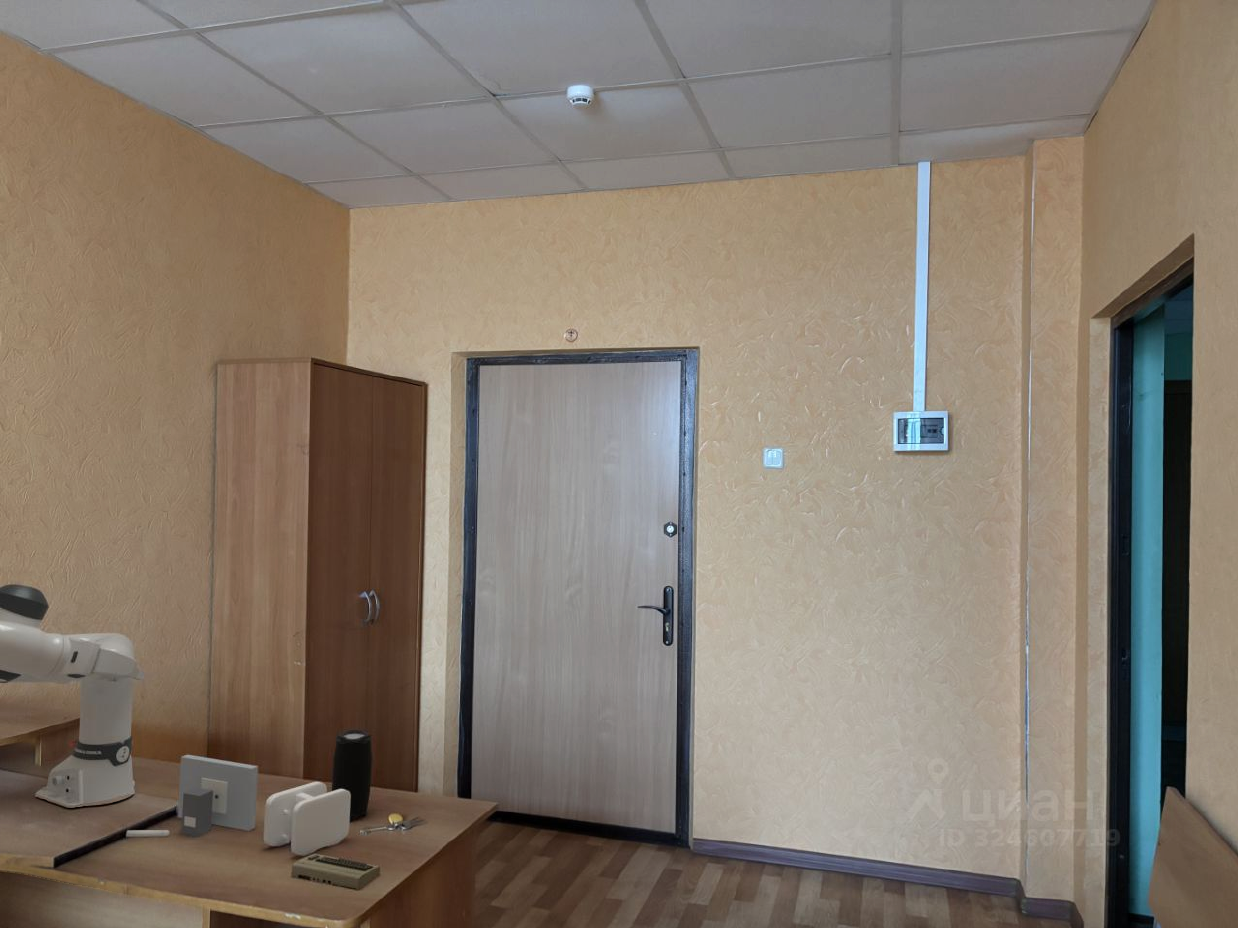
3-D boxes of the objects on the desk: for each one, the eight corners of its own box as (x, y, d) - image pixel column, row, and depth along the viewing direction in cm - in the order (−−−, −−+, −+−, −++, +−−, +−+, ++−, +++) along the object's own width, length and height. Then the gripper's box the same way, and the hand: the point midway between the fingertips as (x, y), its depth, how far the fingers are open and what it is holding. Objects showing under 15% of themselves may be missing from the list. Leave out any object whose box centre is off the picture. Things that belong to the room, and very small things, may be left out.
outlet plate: (176, 817, 208) (179, 757, 208) (184, 814, 210) (187, 754, 210) (247, 831, 202) (250, 769, 202) (254, 827, 204) (258, 766, 204)
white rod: (126, 838, 196) (126, 831, 196) (128, 835, 197) (128, 829, 197) (167, 837, 197) (168, 831, 197) (170, 835, 198) (170, 828, 198)
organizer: (291, 862, 187) (294, 806, 187) (261, 848, 193) (263, 794, 193) (349, 840, 200) (352, 787, 200) (319, 828, 206) (321, 777, 206)
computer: (380, 875, 184) (381, 859, 184) (358, 892, 176) (359, 875, 176) (315, 863, 188) (315, 847, 188) (290, 879, 180) (291, 862, 180)
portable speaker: (343, 806, 219) (348, 726, 220) (376, 812, 216) (381, 731, 217) (322, 818, 211) (326, 735, 212) (355, 824, 208) (360, 740, 209)
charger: (180, 833, 199) (183, 793, 199) (198, 825, 204) (200, 785, 204) (197, 836, 198) (199, 796, 198) (214, 828, 203) (216, 788, 203)
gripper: (30, 678, 178) (97, 694, 188) (86, 673, 168) (153, 690, 178) (42, 647, 181) (107, 664, 191) (98, 640, 170) (163, 658, 181)
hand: (130, 676), depth 184 cm, fingers open, 8 cm apart
